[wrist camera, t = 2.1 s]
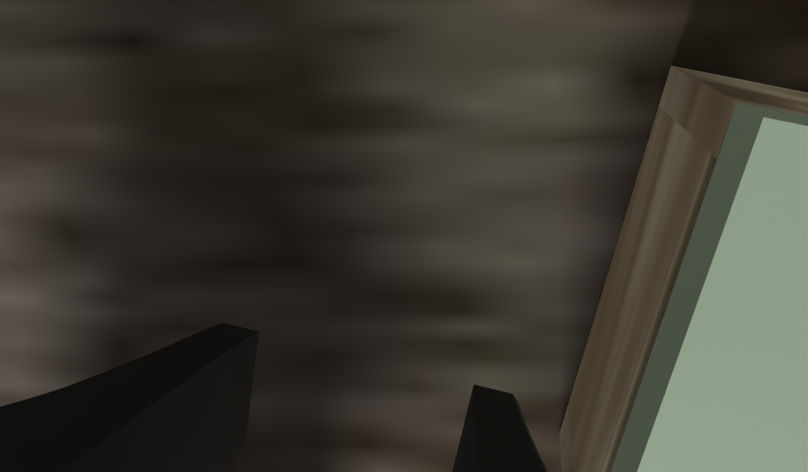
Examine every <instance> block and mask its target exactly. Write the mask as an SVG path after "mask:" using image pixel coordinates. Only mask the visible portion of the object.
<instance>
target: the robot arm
mask: <svg viewBox="0 0 808 472" xmlns="http://www.w3.org/2000/svg"><path fill="white" fill-rule="evenodd" d="M258 334H259V332H257V331H253V330H249V329H245V328H241V327H237V326H233V325H229V324H225V323H221V324H219V325H216V326H213V327H210V328H208V329H205V330H203V331H201V332H198V333H196V334H194V335H192V336H189V337H187V338H185V339H183V340H180V341H178V342H176V343H174V344H171V345H169V346H167V347H164V348H162V349H160V350H157V351H155V352H153V353H151V354H148V355H146V356H144V357H141V358H139V359H137V360H134V361H132V362H130V363H127V364H125V365H122V366H120V367H117V368H114V369H112V370H109V371H107V372H104V373H101V374H99V375H96V376H93V377H91V378H88V379H85V380H83V381H80V382H77V383H75V384H72V385H70V386H67V387H64V388H61V389H58V390H55V391H52V392H49V393H46V394H43V395H40V396H36V397H33V398H30V399H26V400H23V401H19V402H16V403H12V404H9V405H5V406H2V407H0V472H230V470H231V468H232V466H233V464H234V462H235V460H236V458H237V455H238V453H239V451H240V449H241V447H242V445H243V443H244V441H245V439H246V433H247V424H248V416H249V408H250V400H251V391H252V383H253V375H254V367H255V358H256V350H257V342H258ZM452 472H548V471H547V469H546V467H545V465H544V463H543V461H542V459H541V457H540V455H539V453H538V450H537V448H536V446H535V444H534V442H533V439H532V437H531V435H530V433H529V430H528V428H527V425H526V423H525V420H524V418H523V415H522V413H521V410H520V407H519V404H518V402H517V400H516V399H515V397H514V395H513V394H510V393H506V392H502V391H498V390H494V389H490V388H486V387H482V386H478V385H474V386H473V390H472V394H471V398H470V402H469V406H468V411H467V415H466V419H465V423H464V427H463V431H462V435H461V439H460V443H459V447H458V451H457V455H456V459H455V463H454V467H453V471H452Z"/></svg>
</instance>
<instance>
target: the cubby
mask: <svg viewBox="0 0 808 472" xmlns="http://www.w3.org/2000/svg"><path fill="white" fill-rule="evenodd" d="M737 102H738V103H743V104H748V105H753V106H758V107H763V108H768V109H773V110H778V111H783V112H788V113H793V114H798V115H803V116H808V92H803V91H797V90H792V89H787V88H782V87H777V86H772V85H767V84H762V83H757V82H752V81H747V80H742V79H737V78H732V77H727V76H722V75H717V74H712V73H706V72H701V71H696V70H691V69H686V68H681V67H676V66H671V67H670V70H669V73H668V77H667V80H666V83H665V87H664V90H663V93H662V96H661V100H660V103H659V106H658V110H657V113H656V116H655V120H654V123H653V126H652V129H651V133H650V136H649V139H648V143H647V146H646V149H645V152H644V156H643V159H642V162H641V166H640V169H639V172H638V176H637V179H636V182H635V185H634V189H633V192H632V195H631V199H630V202H629V205H628V208H627V212H626V215H625V218H624V222H623V225H622V228H621V232H620V235H619V238H618V241H617V245H616V248H615V251H614V255H613V258H612V261H611V265H610V268H609V271H608V274H607V278H606V281H605V284H604V288H603V291H602V294H601V297H600V301H599V304H598V307H597V311H596V314H595V317H594V321H593V324H592V327H591V330H590V334H589V337H588V340H587V344H586V347H585V350H584V353H583V357H582V360H581V363H580V367H579V370H578V373H577V377H576V380H575V383H574V386H573V390H572V393H571V396H570V400H569V403H568V406H567V410H566V413H565V416H564V419H563V423H562V426H561V429H560V433H559V441H560V457H561V472H611V469H612V466H613V464H614V461H615V458H616V455H617V452H618V449H619V446H620V443H621V440H622V437H623V434H624V431H625V428H626V425H627V422H628V420H629V417H630V414H631V411H632V408H633V405H634V402H635V399H636V396H637V393H638V390H639V387H640V384H641V381H642V378H643V376H644V373H645V370H646V367H647V364H648V361H649V358H650V355H651V352H652V349H653V346H654V343H655V340H656V337H657V334H658V332H659V329H660V326H661V323H662V320H663V317H664V314H665V311H666V308H667V305H668V302H669V299H670V296H671V293H672V291H673V288H674V285H675V282H676V279H677V276H678V273H679V270H680V267H681V264H682V261H683V258H684V255H685V252H686V249H687V247H688V244H689V241H690V238H691V235H692V232H693V229H694V226H695V223H696V220H697V217H698V214H699V211H700V208H701V205H702V203H703V200H704V197H705V194H706V191H707V188H708V185H709V182H710V179H711V176H712V173H713V170H714V167H715V164H716V161H717V159H718V156H719V153H720V150H721V147H722V144H723V141H724V138H725V135H726V132H727V129H728V126H729V123H730V120H731V117H732V115H733V112H734V109H735V106H736V103H737Z"/></svg>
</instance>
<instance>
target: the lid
mask: <svg viewBox="0 0 808 472" xmlns="http://www.w3.org/2000/svg"><path fill="white" fill-rule="evenodd" d="M611 472H808V116H803V115H798V114H793V113H788V112H783V111H778V110H773V109H768V108H763V107H758V106H753V105H748V104H743V103H738V102H737V103H736V106H735V109H734V112H733V115H732V117H731V120H730V123H729V126H728V129H727V132H726V135H725V138H724V141H723V144H722V147H721V150H720V153H719V156H718V159H717V161H716V164H715V167H714V170H713V173H712V176H711V179H710V182H709V185H708V188H707V191H706V194H705V197H704V200H703V203H702V205H701V208H700V211H699V214H698V217H697V220H696V223H695V226H694V229H693V232H692V235H691V238H690V241H689V244H688V247H687V249H686V252H685V255H684V258H683V261H682V264H681V267H680V270H679V273H678V276H677V279H676V282H675V285H674V288H673V291H672V293H671V296H670V299H669V302H668V305H667V308H666V311H665V314H664V317H663V320H662V323H661V326H660V329H659V332H658V334H657V337H656V340H655V343H654V346H653V349H652V352H651V355H650V358H649V361H648V364H647V367H646V370H645V373H644V376H643V378H642V381H641V384H640V387H639V390H638V393H637V396H636V399H635V402H634V405H633V408H632V411H631V414H630V417H629V420H628V422H627V425H626V428H625V431H624V434H623V437H622V440H621V443H620V446H619V449H618V452H617V455H616V458H615V461H614V464H613V466H612V469H611Z"/></svg>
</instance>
